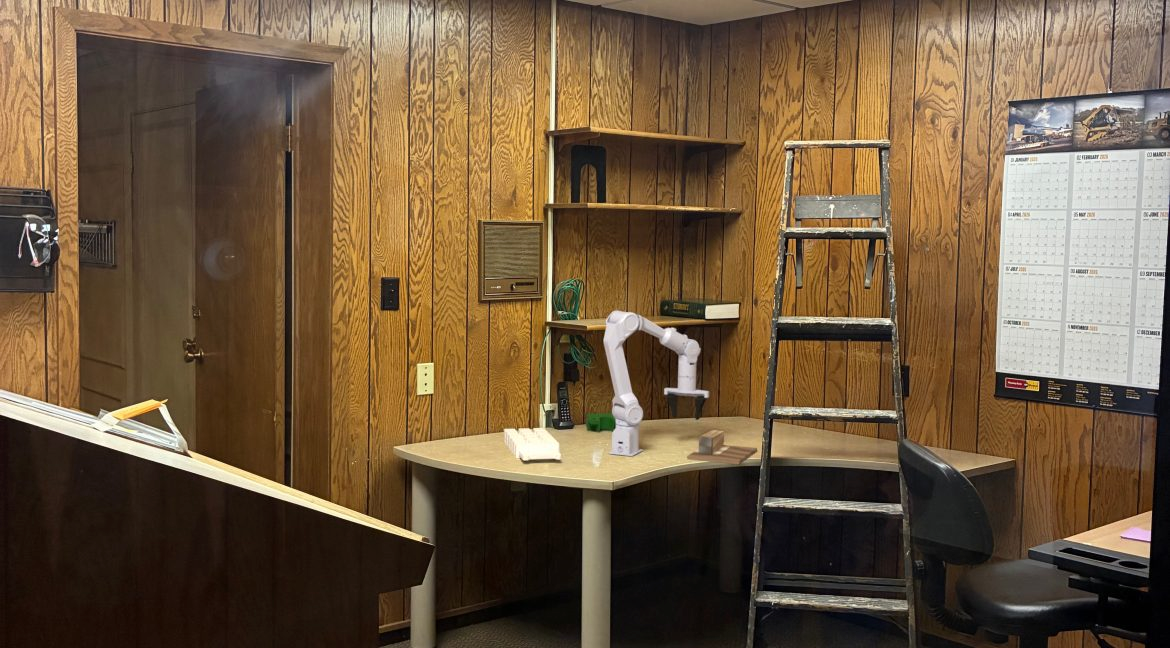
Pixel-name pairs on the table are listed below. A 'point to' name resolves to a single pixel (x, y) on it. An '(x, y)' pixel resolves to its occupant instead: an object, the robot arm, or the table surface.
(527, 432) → the organizer
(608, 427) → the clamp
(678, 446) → the table surface
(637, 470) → the table surface
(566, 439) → the table surface
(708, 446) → the tan wooden bar
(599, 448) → the table surface
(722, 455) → the board
